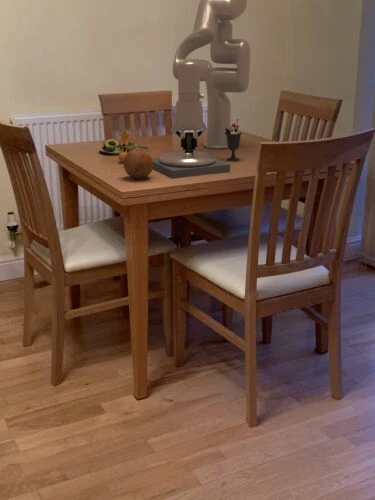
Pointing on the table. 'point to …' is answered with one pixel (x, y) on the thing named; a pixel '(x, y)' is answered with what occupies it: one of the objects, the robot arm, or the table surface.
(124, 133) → the figurine
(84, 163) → the table surface
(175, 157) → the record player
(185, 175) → the instrument base
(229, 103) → the robot arm
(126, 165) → the onion
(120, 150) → the avocado toast plate
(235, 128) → the sundae
